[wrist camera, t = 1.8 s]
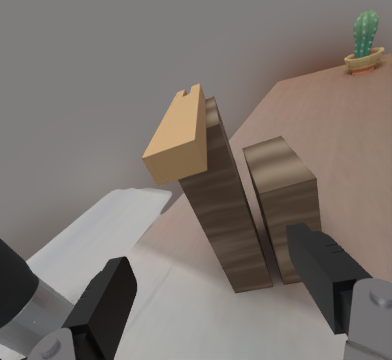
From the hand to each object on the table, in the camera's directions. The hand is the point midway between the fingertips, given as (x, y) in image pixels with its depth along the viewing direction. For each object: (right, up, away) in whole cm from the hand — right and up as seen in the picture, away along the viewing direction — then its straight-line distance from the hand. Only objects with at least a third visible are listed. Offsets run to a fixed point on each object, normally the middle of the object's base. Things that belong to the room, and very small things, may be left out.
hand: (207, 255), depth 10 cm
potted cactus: (+83, +58, +95) cm, 139 cm away
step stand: (+15, -11, +33) cm, 38 cm away
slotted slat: (-1, +10, +15) cm, 18 cm away
